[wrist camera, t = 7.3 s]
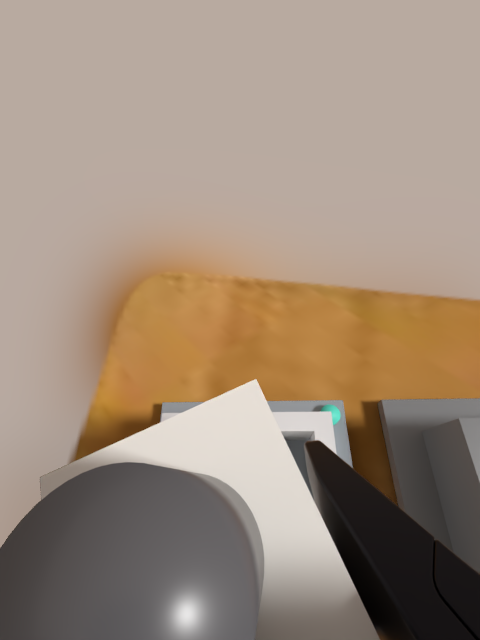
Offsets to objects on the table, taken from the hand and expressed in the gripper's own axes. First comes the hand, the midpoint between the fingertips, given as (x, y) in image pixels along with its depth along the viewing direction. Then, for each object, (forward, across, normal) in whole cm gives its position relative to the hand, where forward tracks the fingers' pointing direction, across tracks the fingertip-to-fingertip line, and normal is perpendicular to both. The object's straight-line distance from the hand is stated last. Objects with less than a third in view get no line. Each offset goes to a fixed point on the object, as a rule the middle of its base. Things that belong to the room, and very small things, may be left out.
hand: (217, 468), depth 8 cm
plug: (+4, 0, +6) cm, 7 cm away
